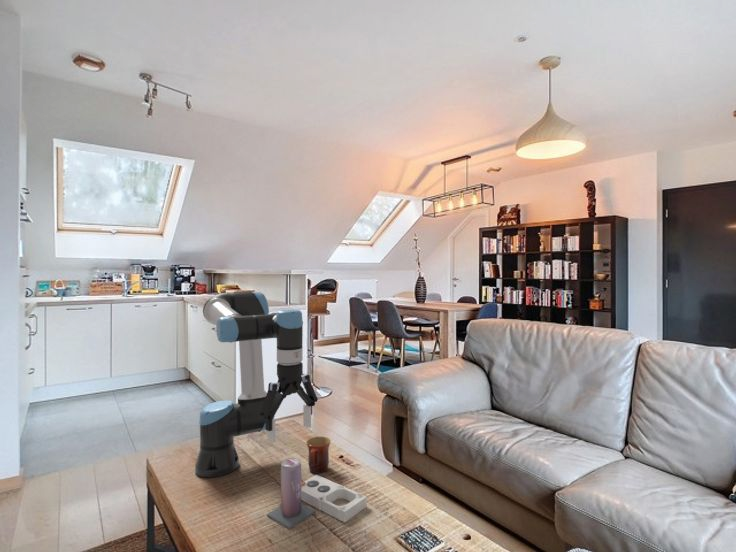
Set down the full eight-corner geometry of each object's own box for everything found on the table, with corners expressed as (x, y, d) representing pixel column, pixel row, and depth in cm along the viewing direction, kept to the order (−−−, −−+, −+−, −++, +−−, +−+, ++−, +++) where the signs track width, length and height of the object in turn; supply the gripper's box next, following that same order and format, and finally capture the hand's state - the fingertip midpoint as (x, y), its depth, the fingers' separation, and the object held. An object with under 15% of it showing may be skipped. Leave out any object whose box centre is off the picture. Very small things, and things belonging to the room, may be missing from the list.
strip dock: (277, 488, 135) (277, 477, 135) (301, 475, 144) (301, 465, 144) (343, 523, 116) (343, 510, 116) (367, 505, 125) (367, 494, 125)
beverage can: (294, 504, 125) (293, 455, 125) (305, 512, 121) (305, 462, 121) (277, 512, 121) (276, 462, 121) (288, 520, 117) (287, 468, 117)
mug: (311, 462, 154) (311, 435, 154) (333, 464, 152) (333, 437, 152) (299, 478, 142) (299, 449, 142) (323, 480, 140) (323, 451, 140)
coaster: (267, 515, 120) (267, 513, 120) (293, 501, 128) (293, 499, 128) (289, 529, 114) (289, 527, 114) (315, 512, 122) (315, 510, 122)
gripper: (262, 372, 108) (263, 451, 109) (328, 356, 128) (328, 424, 128) (245, 368, 113) (246, 444, 114) (312, 353, 132) (312, 418, 133)
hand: (290, 433), depth 121 cm, fingers open, 13 cm apart
